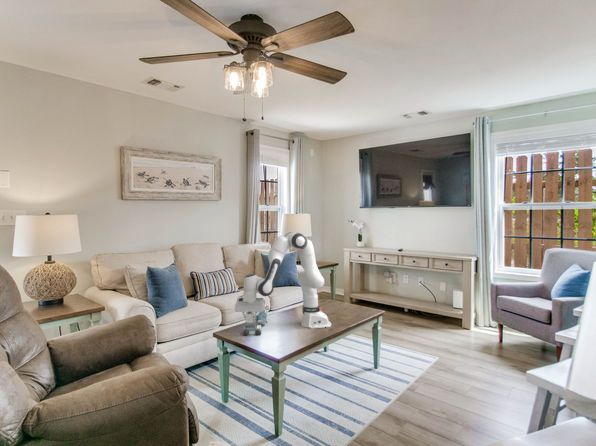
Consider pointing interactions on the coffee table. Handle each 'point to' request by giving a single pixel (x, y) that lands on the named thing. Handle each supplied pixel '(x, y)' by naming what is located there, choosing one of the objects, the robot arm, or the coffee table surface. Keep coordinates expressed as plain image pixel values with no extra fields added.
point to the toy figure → (261, 317)
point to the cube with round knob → (249, 317)
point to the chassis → (252, 330)
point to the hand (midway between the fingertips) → (249, 317)
